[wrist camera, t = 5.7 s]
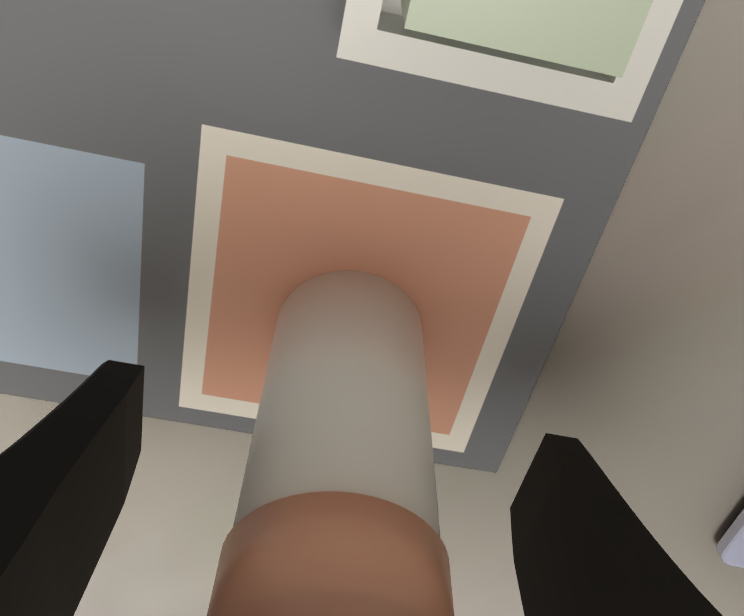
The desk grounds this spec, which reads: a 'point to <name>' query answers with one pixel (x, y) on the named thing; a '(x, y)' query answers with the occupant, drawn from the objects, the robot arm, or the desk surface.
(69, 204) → the picture sheet
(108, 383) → the robot arm
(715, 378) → the desk surface
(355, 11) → the button housing
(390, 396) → the cylinder
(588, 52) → the button
